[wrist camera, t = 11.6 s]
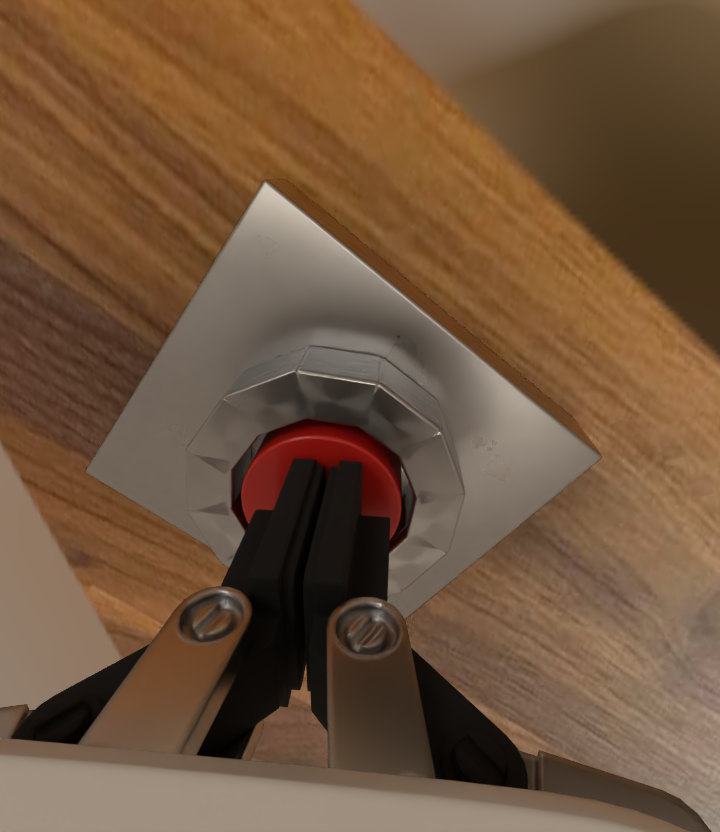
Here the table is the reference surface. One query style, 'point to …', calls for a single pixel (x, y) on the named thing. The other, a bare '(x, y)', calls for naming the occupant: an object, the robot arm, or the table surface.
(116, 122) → the table surface
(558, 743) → the table surface
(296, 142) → the table surface
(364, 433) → the button
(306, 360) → the button housing
